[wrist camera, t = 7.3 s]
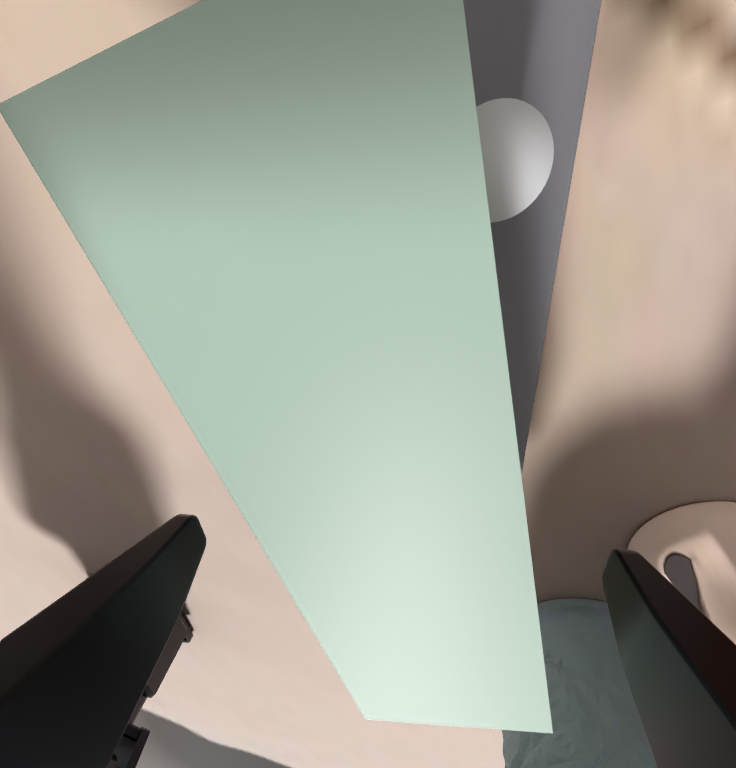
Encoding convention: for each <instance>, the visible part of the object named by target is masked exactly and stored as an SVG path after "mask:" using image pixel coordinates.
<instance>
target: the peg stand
mask: <svg viewBox="0 0 736 768" xmlns="http://www.w3.org/2000/svg"><path fill="white" fill-rule="evenodd" d="M601 1H602V0H463V4H464V12H465V21H466V29H467V37H468V45H469V53H470V61H471V69H472V78H473V86H474V94H475V102H476V110H477V118H478V126H479V135H480V143H481V151H482V159H483V167H484V175H485V184H486V192H487V200H488V208H489V216H490V224H491V232H492V241H493V249H494V257H495V265H496V273H497V281H498V289H499V298H500V306H501V314H502V322H503V330H504V338H505V346H506V355H507V363H508V371H509V379H510V387H511V395H512V403H513V412H514V420H515V428H516V436H517V444H518V452H519V460H520V469H521V474H522V468H523V462H524V456H525V450H526V444H527V438H528V432H529V426H530V421H531V415H532V409H533V403H534V397H535V391H536V385H537V379H538V373H539V367H540V361H541V355H542V350H543V344H544V338H545V332H546V326H547V320H548V314H549V308H550V302H551V296H552V290H553V285H554V279H555V273H556V267H557V261H558V255H559V249H560V243H561V237H562V231H563V225H564V219H565V214H566V208H567V202H568V196H569V190H570V184H571V178H572V172H573V166H574V160H575V154H576V149H577V143H578V137H579V131H580V125H581V119H582V113H583V107H584V101H585V95H586V89H587V83H588V78H589V72H590V66H591V60H592V54H593V48H594V42H595V36H596V30H597V24H598V18H599V12H600V7H601Z"/></svg>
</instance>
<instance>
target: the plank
mask: <svg viewBox="0 0 736 768" xmlns="http://www.w3.org/2000/svg"><path fill="white" fill-rule="evenodd" d="M0 113H1V114H2V116H3V118H4V119H5V121H6V123H7V124H8V126H9V128H10V129H11V131H12V133H13V134H14V136H15V137H16V139H17V141H18V142H19V144H20V146H21V147H22V149H23V151H24V152H25V154H26V156H27V157H28V159H29V161H30V162H31V164H32V166H33V167H34V169H35V171H36V172H37V174H38V176H39V177H40V179H41V181H42V182H43V184H44V186H45V187H46V189H47V191H48V192H49V194H50V196H51V197H52V199H53V201H54V202H55V204H56V206H57V207H58V209H59V211H60V212H61V214H62V216H63V217H64V219H65V221H66V222H67V224H68V226H69V227H70V229H71V231H72V232H73V234H74V236H75V237H76V239H77V241H78V242H79V244H80V246H81V247H82V249H83V251H84V252H85V254H86V256H87V257H88V259H89V261H90V262H91V264H92V266H93V267H94V269H95V271H96V272H97V274H98V276H99V277H100V279H101V281H102V282H103V284H104V286H105V287H106V289H107V291H108V292H109V294H110V296H111V297H112V299H113V301H114V302H115V304H116V305H117V307H118V309H119V310H120V312H121V314H122V315H123V317H124V319H125V320H126V322H127V324H128V325H129V327H130V329H131V330H132V332H133V334H134V335H135V337H136V339H137V340H138V342H139V344H140V345H141V347H142V349H143V350H144V352H145V354H146V355H147V357H148V359H149V360H150V362H151V364H152V365H153V367H154V369H155V370H156V372H157V374H158V375H159V377H160V379H161V380H162V382H163V384H164V385H165V387H166V389H167V390H168V392H169V394H170V395H171V397H172V399H173V400H174V402H175V404H176V405H177V407H178V409H179V410H180V412H181V414H182V415H183V417H184V419H185V420H186V422H187V424H188V425H189V427H190V429H191V430H192V432H193V434H194V435H195V437H196V439H197V440H198V442H199V444H200V445H201V447H202V449H203V450H204V452H205V454H206V455H207V457H208V459H209V460H210V462H211V464H212V465H213V467H214V468H215V470H216V472H217V473H218V475H219V477H220V478H221V480H222V482H223V483H224V485H225V487H226V488H227V490H228V492H229V493H230V495H231V497H232V498H233V500H234V502H235V503H236V505H237V507H238V508H239V510H240V512H241V513H242V515H243V517H244V518H245V520H246V522H247V523H248V525H249V527H250V528H251V530H252V532H253V533H254V535H255V537H256V538H257V540H258V542H259V543H260V545H261V547H262V548H263V550H264V552H265V553H266V555H267V557H268V558H269V560H270V562H271V563H272V565H273V567H274V568H275V570H276V572H277V573H278V575H279V577H280V578H281V580H282V582H283V583H284V585H285V587H286V588H287V590H288V592H289V593H290V595H291V597H292V598H293V600H294V602H295V603H296V605H297V607H298V608H299V610H300V612H301V613H302V615H303V617H304V618H305V620H306V622H307V623H308V625H309V627H310V628H311V630H312V632H313V633H314V635H315V636H316V638H317V640H318V641H319V643H320V645H321V646H322V648H323V650H324V651H325V653H326V655H327V656H328V658H329V660H330V661H331V663H332V665H333V666H334V668H335V670H336V671H337V673H338V675H339V676H340V678H341V680H342V681H343V683H344V685H345V686H346V688H347V690H348V691H349V693H350V695H351V696H352V698H353V700H354V701H355V703H356V705H357V706H358V708H359V710H360V711H361V713H362V715H363V716H364V718H365V719H366V720H379V721H393V722H406V723H419V724H433V725H446V726H459V727H473V728H486V729H499V730H512V731H526V732H539V733H552V734H553V729H552V721H551V713H550V705H549V697H548V689H547V680H546V672H545V664H544V656H543V648H542V640H541V632H540V623H539V615H538V607H537V599H536V591H535V583H534V575H533V566H532V558H531V550H530V542H529V534H528V526H527V518H526V509H525V501H524V493H523V485H522V477H521V469H520V460H519V452H518V444H517V436H516V428H515V420H514V412H513V403H512V395H511V387H510V379H509V371H508V363H507V355H506V346H505V338H504V330H503V322H502V314H501V306H500V298H499V289H498V281H497V273H496V265H495V257H494V249H493V241H492V232H491V224H490V216H489V208H488V200H487V192H486V184H485V175H484V167H483V159H482V151H481V143H480V135H479V126H478V118H477V110H476V102H475V94H474V86H473V78H472V69H471V61H470V53H469V45H468V37H467V29H466V21H465V12H464V4H463V0H202V1H200V2H198V3H196V4H194V5H192V6H190V7H188V8H186V9H185V10H183V11H181V12H179V13H177V14H175V15H173V16H171V17H169V18H167V19H165V20H163V21H161V22H159V23H157V24H155V25H153V26H151V27H149V28H147V29H145V30H143V31H141V32H139V33H137V34H135V35H133V36H131V37H130V38H128V39H126V40H124V41H122V42H120V43H118V44H116V45H114V46H112V47H110V48H108V49H106V50H104V51H102V52H100V53H98V54H96V55H94V56H92V57H90V58H88V59H86V60H84V61H82V62H80V63H78V64H77V65H75V66H73V67H71V68H69V69H67V70H65V71H63V72H61V73H59V74H57V75H55V76H53V77H51V78H49V79H47V80H45V81H43V82H41V83H39V84H37V85H35V86H33V87H31V88H29V89H27V90H25V91H23V92H22V93H20V94H18V95H16V96H14V97H12V98H10V99H8V100H6V101H4V102H2V103H0Z"/></svg>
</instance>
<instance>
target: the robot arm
mask: <svg viewBox="0 0 736 768" xmlns="http://www.w3.org/2000/svg"><path fill="white" fill-rule="evenodd" d="M205 546H206V537H205V534H204V532H203V529H202V527H201V525H200V522H199V520H198V518H197V517H196V516H195V515H187V514H179V515H177V516H175V517H173V518H172V519H170V520H169V521H168V522H166V523H165V524H163V525H162V526H161V527H159V528H158V529H156V530H155V531H154V532H152V533H151V534H149V535H148V536H147V537H145V538H144V539H142V540H141V541H139V542H138V543H137V544H135V545H134V546H132V547H131V548H130V549H128V550H127V551H125V552H124V553H123V554H121V555H120V556H118V557H117V558H116V559H114V560H113V561H111V562H110V563H109V564H107V565H106V566H104V567H103V568H102V569H100V570H99V571H97V572H96V573H95V574H93V575H92V576H90V577H89V578H87V579H86V580H85V581H83V582H82V583H80V584H79V585H78V586H76V587H75V588H73V589H72V590H71V591H69V592H68V593H66V594H65V595H64V596H62V597H61V598H59V599H58V600H57V601H55V602H54V603H52V604H51V605H50V606H48V607H47V608H45V609H44V610H42V611H41V612H40V613H38V614H37V615H35V616H34V617H33V618H31V619H30V620H28V621H27V622H26V623H24V624H23V625H21V626H20V627H19V628H17V629H16V630H14V631H13V632H12V633H10V634H9V635H7V636H6V637H4V638H3V639H2V640H1V641H0V768H135V767H136V765H137V762H138V760H139V757H140V755H141V753H142V750H143V748H144V745H145V743H146V740H147V738H148V736H149V733H150V730H148V729H146V728H144V727H141V728H139V727H137V726H134V725H133V723H134V721H135V719H136V717H137V715H138V713H139V712H140V710H141V708H142V706H143V704H144V702H145V701H146V699H147V697H149V698H151V697H153V696H154V695H155V694H156V692H157V690H158V688H159V686H160V684H161V682H162V681H163V679H164V677H165V675H166V673H167V671H168V669H169V667H170V665H171V663H172V662H173V660H174V658H175V656H176V654H177V652H178V650H179V648H180V646H181V644H182V642H186V643H188V642H190V641H191V639H192V637H193V634H192V632H191V630H190V628H189V626H188V625H187V623H186V621H185V619H184V617H183V615H182V614H181V611H182V608H183V606H184V603H185V601H186V598H187V595H188V593H189V590H190V587H191V585H192V582H193V579H194V577H195V574H196V571H197V569H198V566H199V563H200V561H201V558H202V555H203V553H204V550H205ZM602 582H603V588H604V592H605V597H606V601H607V605H608V609H609V613H610V617H611V621H612V626H613V630H614V634H615V638H616V642H617V646H618V651H619V655H620V659H621V662H622V666H623V670H624V673H625V676H626V679H627V682H628V686H629V688H630V691H631V694H632V697H633V700H634V703H635V706H636V708H637V711H638V714H639V717H640V720H641V723H642V726H643V728H644V731H645V734H646V737H647V740H648V743H649V746H650V748H651V751H652V754H653V757H654V760H655V763H656V766H657V768H736V644H735V643H734V642H733V641H732V640H730V639H729V638H728V637H727V636H726V635H725V634H724V633H723V632H722V631H721V630H720V629H719V628H718V627H717V626H716V625H715V624H714V623H713V622H712V621H710V620H709V619H708V618H707V617H706V616H705V615H704V614H703V613H702V612H701V611H700V610H699V609H698V608H697V607H696V606H695V605H694V604H693V603H692V602H690V601H689V600H688V599H687V598H686V597H685V596H684V595H683V594H682V593H681V592H680V591H679V590H678V589H677V588H676V587H675V586H674V585H673V584H671V583H670V582H669V581H668V580H667V579H666V578H665V577H664V576H663V575H662V574H661V573H660V572H659V571H658V570H657V569H656V568H655V567H654V566H653V565H651V564H650V563H649V562H648V561H647V560H646V559H645V558H644V557H643V556H642V555H641V554H640V553H638V552H636V551H633V550H624V549H614V550H612V551H611V553H610V556H609V558H608V561H607V564H606V566H605V569H604V572H603V576H602Z"/></svg>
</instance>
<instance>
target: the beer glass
mask: <svg viewBox="0 0 736 768" xmlns="http://www.w3.org/2000/svg"><path fill="white" fill-rule="evenodd" d="M627 550H633V551H636V552H638V553H640V554H641V555H642V556H643V557H644V558H645V559H646V560H647V561H648V562H649V563H650V564H651V565H653V566H654V567H655V568H656V569H657V570H658V571H659V572H660V573H661V574H662V575H663V576H664V577H665V578H666V579H667V580H668V581H669V582H670V583H671V584H673V585H674V586H675V587H676V588H677V589H678V590H679V591H680V592H681V593H682V594H683V595H684V596H685V597H686V598H687V599H688V600H689V601H690V602H692V603H693V604H694V605H695V606H696V607H697V608H698V609H699V610H700V611H701V612H702V613H703V614H704V615H705V616H706V617H707V618H708V619H709V620H710V621H712V622H713V623H714V624H715V625H716V626H717V627H718V628H719V629H720V630H721V631H722V632H723V633H724V634H725V635H726V636H727V637H728V638H729V639H730V640H732V641H733V642H734V643H735V644H736V502H728V501H710V502H700V503H694V504H689V505H685V506H681V507H677V508H674V509H672V510H669V511H666V512H664V513H662V514H660V515H658V516H656V517H654V518H653V519H651V520H649V521H648V522H647V523H645V524H644V525H643V526H642V527H641V528H639V530H638V531H637V532H636V533H635V534H634V535H633V537H632V539H631V540H630V542H629V545H628V549H627Z"/></svg>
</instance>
